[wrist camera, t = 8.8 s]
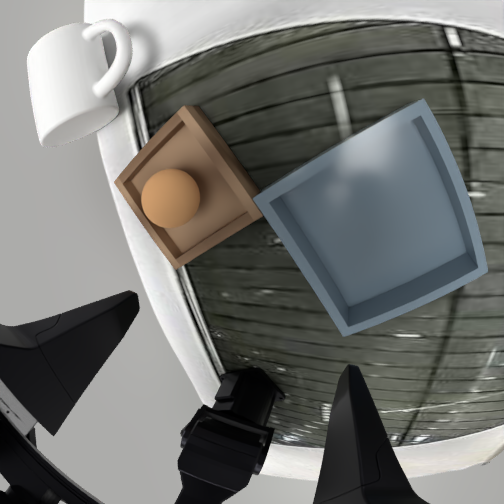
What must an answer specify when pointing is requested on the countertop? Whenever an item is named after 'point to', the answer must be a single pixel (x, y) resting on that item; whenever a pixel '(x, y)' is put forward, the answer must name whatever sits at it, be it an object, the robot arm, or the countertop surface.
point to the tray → (207, 178)
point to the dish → (379, 220)
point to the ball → (170, 198)
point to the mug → (76, 80)
